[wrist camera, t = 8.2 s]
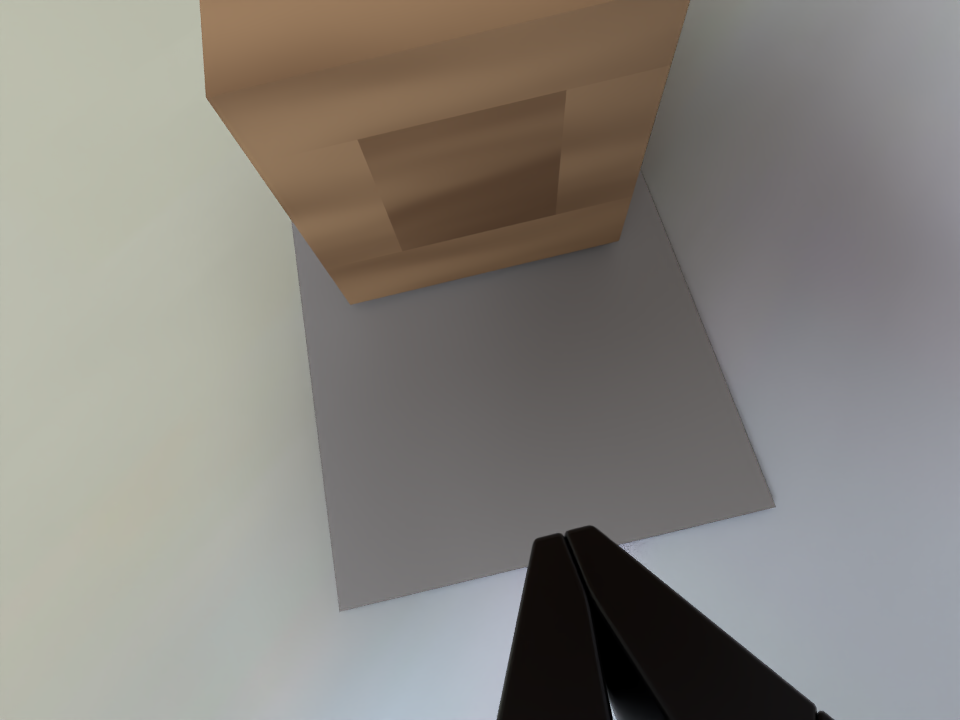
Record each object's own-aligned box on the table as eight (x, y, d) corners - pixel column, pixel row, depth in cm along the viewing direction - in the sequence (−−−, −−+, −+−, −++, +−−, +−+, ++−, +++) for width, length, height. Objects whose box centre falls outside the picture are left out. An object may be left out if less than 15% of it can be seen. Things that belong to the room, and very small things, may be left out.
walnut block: (619, 240, 16) (695, -19, 9) (350, 304, 16) (206, 97, 9) (547, 42, 19) (560, -280, 12) (317, 97, 19) (186, -192, 12)
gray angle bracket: (772, 507, 14) (969, 468, 8) (341, 610, 14) (195, 654, 8) (572, 5, 20) (593, -238, 14) (275, 76, 20) (164, -137, 14)
